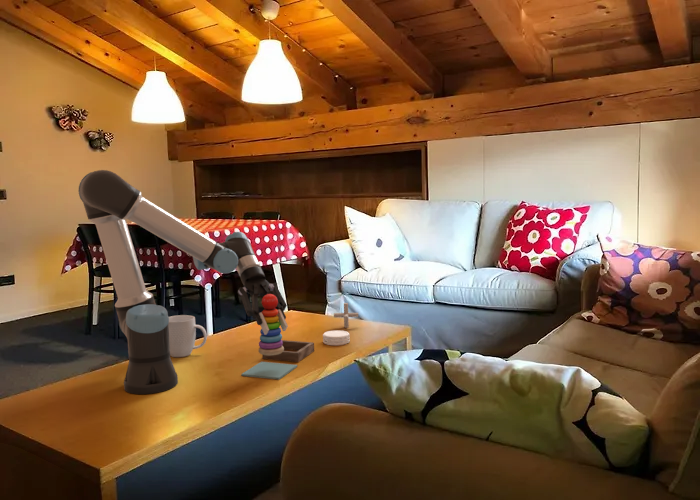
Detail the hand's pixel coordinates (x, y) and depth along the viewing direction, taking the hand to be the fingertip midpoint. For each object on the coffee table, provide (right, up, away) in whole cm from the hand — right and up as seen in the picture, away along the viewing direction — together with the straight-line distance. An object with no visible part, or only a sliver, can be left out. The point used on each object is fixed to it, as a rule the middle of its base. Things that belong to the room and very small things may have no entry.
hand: (276, 330), depth 180 cm
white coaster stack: (+18, -10, +37) cm, 42 cm away
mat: (-3, -14, +4) cm, 14 cm away
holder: (+2, -11, +22) cm, 24 cm away
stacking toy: (-2, -8, +4) cm, 9 cm away
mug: (-36, -12, +24) cm, 45 cm away
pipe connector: (+21, -7, +59) cm, 63 cm away
